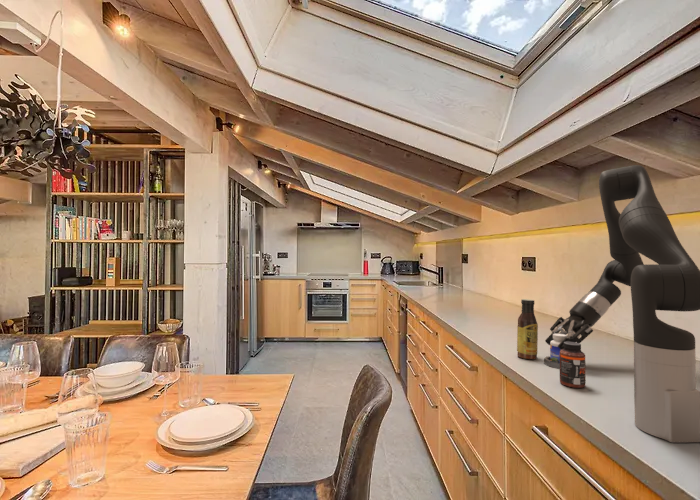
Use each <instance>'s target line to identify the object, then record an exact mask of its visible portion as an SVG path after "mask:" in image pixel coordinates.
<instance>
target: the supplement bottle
mask: <svg viewBox="0 0 700 500" xmlns="http://www.w3.org/2000/svg"><path fill="white" fill-rule="evenodd" d="M586 382H587V381H586V353H584V352H583V351H582V344H581V343H577V342H564V349H562V350H561V351H560V369H559V383H560V384H561V385H563V386H566V387H568V388H574V389H583V388H585V387H586Z"/></svg>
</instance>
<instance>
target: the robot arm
mask: <svg viewBox="0 0 700 500" xmlns="http://www.w3.org/2000/svg"><path fill="white" fill-rule="evenodd" d="M598 187H599V188H598V189H599V194H600V199H601V205H602V211H603V215H604V220H605V223H606V227H607V231H608V242H609V243H608V244H609V254H610V257H611V258H612V259H613V260H611V261H609V262H608V263H606V265H605V267H604V269H603V271H602V273H601V276H600V277H599V279H598V281H597V283H596V284H595V285H594V286H593V287H592V288H591V289H590V291H588V292H587V293H586V294H584V295H583V296H582V297H581V298H580V299H579V300H578V301H577V302H576V303H575V304H574V305H573V306H572V307H571V309H569V311H568V313H569V316H568V317H566V318H563V316H560V317H559V318H557V320H556V321H555V322H554V324H553V325H552V326H551V327H550V328H549V331H550V332H551V334H550V335H548V337H546V339H545V340H544V341H545V343H546V344H547V345H548V346H550V342H551V341H552V340H554V339H553V334H565V335H567V338H565V339H564V340H563V341H562V342H561V343H560V344H559V345H558V347H559V348H560V349H561V350H562V349H564V342H576V343H580V344H581V343H582V342H583V341H585V339H586V338H587V337H589V336H590V335H591V334H592V333H593V332H594V330H593V328H592V327H593V326H595V324H596V323H598V321H599V320H600V319H601V318H602V317H603V316H604V315H605V314H606V313H607V311H608V310H609V309H610V307H611V306H612V305H613V304H614V303H615V302H616V301H617V300H618V299H619V298H620V297H621V295H622V290H621V289H620V288H619V286H617V285H616V284H614V282H617V283H619V284H622V285H625V286H628V287H630V295H631V305H632V306H631V307H632V327H633V328H632V330H633V383H634V384H633V385H634V386H633V387H634V388H633V391H634V392H633V393H634V394H633V395H634V397H633V399H634V424H635V427H636V428H638V429H639V430H640V431H643V433H647V434H649V435H650V436H655V437H656V438H660V439H663V440H665V441H667V442H669V443H700V390H699V389H697V377H696V375H697V374H696V372H697V369H696V362H697V361H696V337H695V335H694V333H692V332H690V331H688V330H686V329H683V328H679V327H677V326H674V325H671V324H669V323H666V322H665V321H662V320H661V319H659V318H658V317H657V311H665V312H666V311H667V312H669V311H670V312H696V311H700V269H699V267H698V266H697V264H696V263H695V261H694V260H693V258H691V256H690V255H689V253H688V252H687V251H686V249H685V248H684V246H683V244H682V243H681V242H680V240H679V238H678V236H677V234H676V232H675V230H674V227H673V225H672V223H671V221H670V219H669V217H668V215H667V213H666V212H665V210H664V208H663V207H662V205H661V203H660V201H659V199H658V198H657V196H656V195H657V194H656V193H655V190H654V187H653V184H652V181H651V178H650V176H649V172H648V171H647V169H646V168H645V167H644V166H642V165H639V164H634V165H627V166H622V167H617V168H616V167H615V168H612V169H607V170H604V171H602V172H601V173H600V175H599V178H598ZM624 200H625V201H627V200H631V201H630V202H629V203H628V204H627V205H626V206H625V207H624V208H623V210H622V211H621V212H619V210H618V209H617V206H616V204H615V202H618V201H624ZM641 255H642V256H644V257H645V258H648V259H649V260H651V261H653V262H654V263H656V264H654V263H653V264H644V261H643V259H642V256H641Z"/></svg>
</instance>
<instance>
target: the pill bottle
mask: <svg viewBox="0 0 700 500" xmlns="http://www.w3.org/2000/svg"><path fill="white" fill-rule="evenodd" d="M567 335H568V334H566V335H565V334H553V339H554V340H552V341H551V342H550V345H549V346H550V347H549V352H550V353H549V355H550V361H553V362H558V363H560V351H561V349H560V348H559V347H558V345H559V344H560V343H561V342H562V341H563V340H564V339H565V338H567Z"/></svg>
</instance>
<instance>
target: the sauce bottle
mask: <svg viewBox="0 0 700 500" xmlns="http://www.w3.org/2000/svg"><path fill="white" fill-rule="evenodd" d="M520 302H521V314H519V316H518V318H517V327H516V328H517V333H516V334H517V337H516V338H517V340H516V342H517V343H516V344H517V345H516V346H517V347H516V351H517V354H516V355H517V357H518V358H520V359H524V360H535V359H537V358H538V340H539V339H538V338H539V336H538V335H539V334H538V332H539V331H538V330H539V329H538V328H539V324H538V321H537V318H536V316H535V306H534V305H535V300H534V299H529V298H528V299H527V298H526V299H521V301H520Z"/></svg>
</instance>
